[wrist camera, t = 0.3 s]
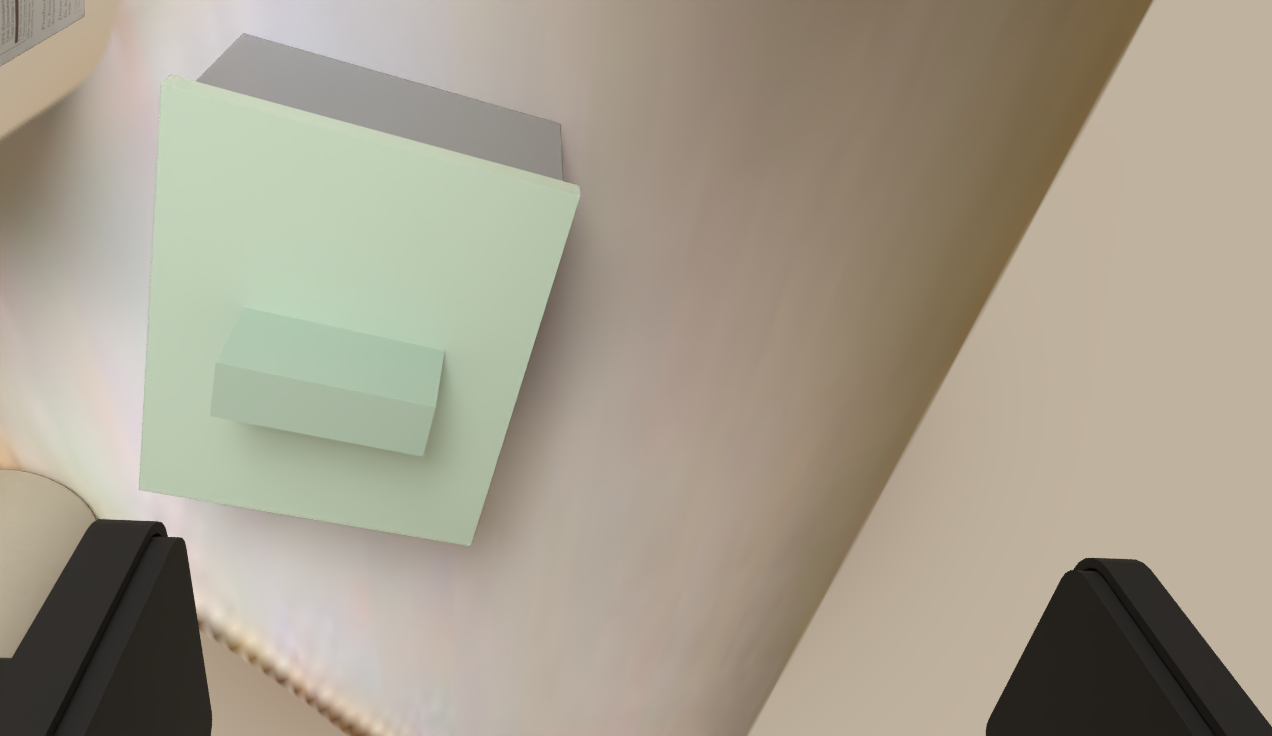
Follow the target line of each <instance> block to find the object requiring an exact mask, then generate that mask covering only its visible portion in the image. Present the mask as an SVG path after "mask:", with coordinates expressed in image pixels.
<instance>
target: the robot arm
mask: <svg viewBox="0 0 1272 736" xmlns="http://www.w3.org/2000/svg"><path fill="white" fill-rule="evenodd" d="M211 728H212V711H211V705H210V698H209V692H208V685H207V679H206V673H205V666H204V659H203V653H202V646H201V640H200V633H199V627H198V620H197V614H196V607H195V601H194V594H193V588H192V582H191V575H190V569H189V562H188V556H187V549H186V545H185V541H184V540H183V538H179V537H168V535H167V532H166V528H165V526H164V525H163V523H162V522H157V521H131V520H106V519H97V520H96V521H94V522H93V523H92V524H91V525H90V526H89V528H88V529H87V530H86V532H85V533H84V535H83V537H82V539H81V540H80V542H79V544H78V545H77V547H76V549H75V551H74V552H73V554H72V556H71V557H70V559H69V561H68V562H67V564H66V566H65V568H64V569H63V571H62V573H61V574H60V576H59V578H58V580H57V581H56V583H55V585H54V586H53V588H52V590H51V592H50V593H49V595H48V597H47V598H46V600H45V602H44V604H43V605H42V607H41V609H40V610H39V612H38V614H37V615H36V617H35V619H34V621H33V622H32V624H31V626H30V627H29V629H28V631H27V633H26V634H25V636H24V638H23V639H22V641H21V643H20V645H19V646H18V648H17V650H16V651H15V653H14V655H13V657H12V658H0V736H211ZM986 736H1272V727H1271V725H1270V724H1269V723H1268V721H1267V720H1266V719H1265V718H1264V716H1263V715H1262V714H1261V713H1260V711H1259V710H1258V708H1257V707H1256V706H1255V705H1254V704H1253V702H1252V701H1251V699H1250V698H1249V697H1248V695H1247V694H1246V693H1245V692H1244V690H1243V689H1242V688H1241V686H1240V685H1239V684H1238V682H1237V681H1236V680H1235V679H1234V677H1233V676H1232V675H1231V673H1230V672H1229V671H1228V669H1227V668H1226V667H1225V666H1224V664H1223V663H1222V662H1221V660H1220V659H1219V658H1218V656H1217V655H1216V654H1215V653H1214V651H1213V650H1212V649H1211V647H1210V646H1209V645H1208V644H1207V642H1206V641H1205V640H1204V638H1203V637H1202V636H1201V634H1200V633H1199V632H1198V630H1197V629H1196V628H1195V627H1194V625H1193V624H1192V623H1191V621H1190V620H1189V619H1188V617H1187V616H1186V615H1185V614H1184V612H1183V611H1182V610H1181V608H1180V607H1179V606H1178V604H1177V603H1176V602H1175V601H1174V599H1173V598H1172V597H1171V595H1170V594H1169V593H1168V592H1167V590H1166V589H1165V588H1164V586H1163V585H1162V584H1161V582H1160V581H1159V580H1158V578H1157V577H1156V576H1155V575H1154V573H1153V572H1152V571H1151V570H1150V569H1149V568H1148V567H1147V566H1146V565H1145V564H1144V563H1142V562H1140V561H1138V560H1132V559H1106V558H1085V559H1083V560H1082V561H1080V562H1079V563H1078V564H1077V565H1076V567H1075V568H1074V570H1070V571H1068V572H1067V573H1065V574H1064V576H1063V577H1062V578H1061V580H1060V582H1059V584H1058V586H1057V588H1056V590H1055V592H1054V594H1053V596H1052V598H1051V600H1050V602H1049V604H1048V606H1047V608H1046V609H1045V611H1044V613H1043V615H1042V617H1041V619H1040V621H1039V623H1038V625H1037V627H1036V629H1035V631H1034V633H1033V635H1032V637H1031V639H1030V640H1029V642H1028V644H1027V646H1026V648H1025V650H1024V652H1023V654H1022V656H1021V658H1020V660H1019V662H1018V664H1017V666H1016V668H1015V670H1014V671H1013V673H1012V675H1011V677H1010V679H1009V681H1008V683H1007V685H1006V687H1005V689H1004V691H1003V693H1002V695H1001V697H1000V699H999V701H998V702H997V704H996V706H995V708H994V710H993V712H992V714H991V716H990V718H989V720H988V723H987V727H986Z"/></svg>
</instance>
